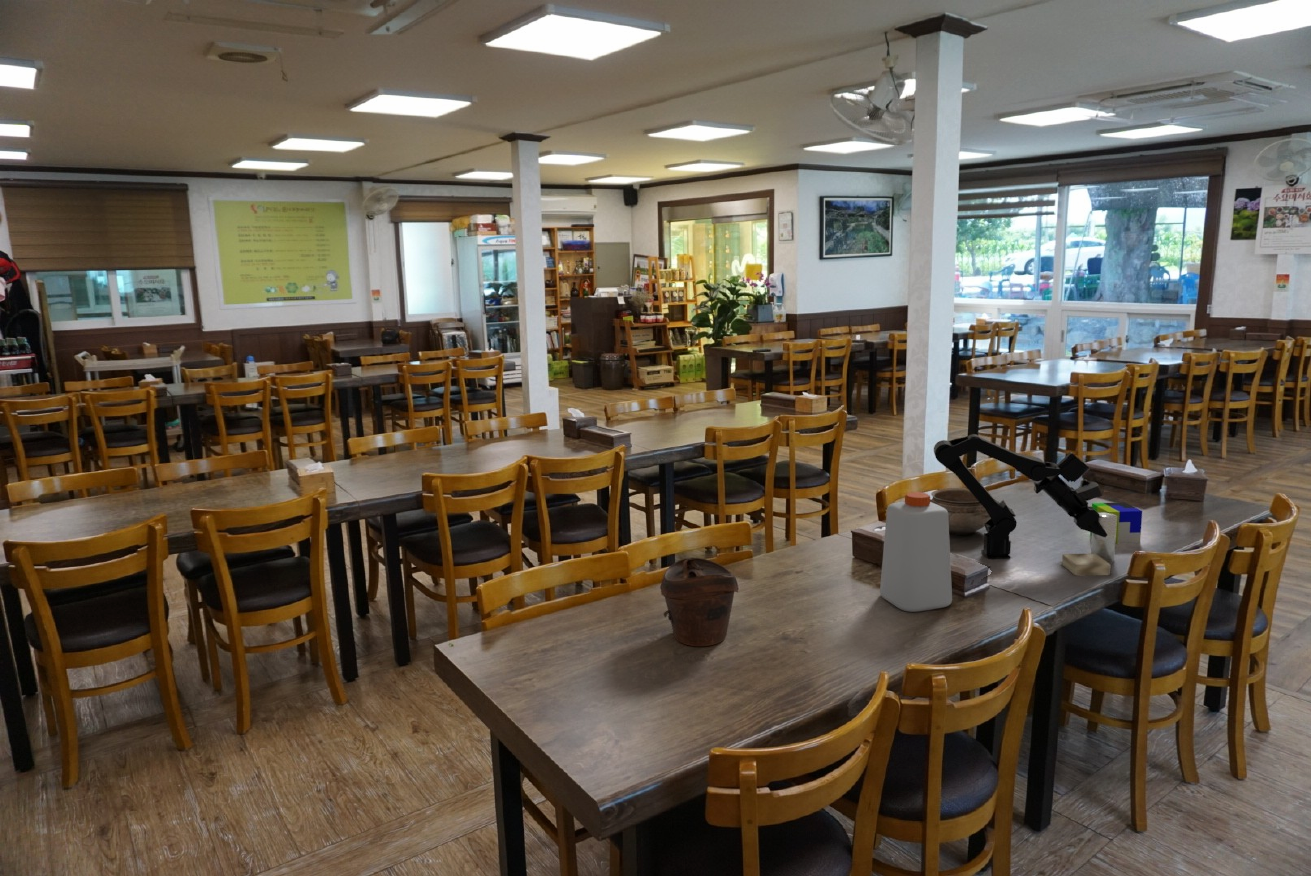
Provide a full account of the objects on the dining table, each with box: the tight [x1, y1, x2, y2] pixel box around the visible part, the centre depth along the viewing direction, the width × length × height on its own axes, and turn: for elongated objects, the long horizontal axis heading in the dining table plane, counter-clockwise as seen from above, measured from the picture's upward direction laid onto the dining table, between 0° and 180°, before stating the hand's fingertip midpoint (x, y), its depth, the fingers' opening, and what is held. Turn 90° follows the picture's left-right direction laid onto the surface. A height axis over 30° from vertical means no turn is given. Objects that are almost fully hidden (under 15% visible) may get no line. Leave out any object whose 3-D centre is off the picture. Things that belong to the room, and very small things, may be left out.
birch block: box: [1061, 553, 1111, 576], centre depth 234 cm, size 9×9×3 cm
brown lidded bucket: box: [659, 556, 740, 647], centre depth 200 cm, size 18×20×18 cm
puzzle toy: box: [1089, 501, 1143, 545], centre depth 258 cm, size 10×10×10 cm
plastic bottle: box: [879, 491, 953, 613], centre depth 215 cm, size 15×15×28 cm
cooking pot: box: [930, 487, 991, 536], centre depth 270 cm, size 25×19×12 cm
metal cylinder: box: [1090, 513, 1117, 564], centre depth 240 cm, size 6×6×13 cm
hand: (1101, 531), depth 240 cm, fingers open, 9 cm apart
